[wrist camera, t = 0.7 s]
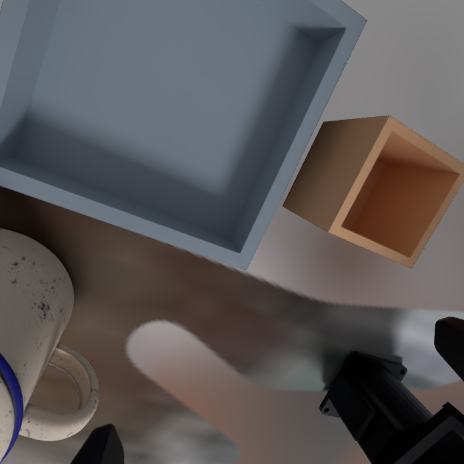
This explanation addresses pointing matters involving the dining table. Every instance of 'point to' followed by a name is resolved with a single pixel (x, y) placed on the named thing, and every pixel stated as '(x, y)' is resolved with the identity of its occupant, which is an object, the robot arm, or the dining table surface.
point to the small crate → (376, 186)
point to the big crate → (167, 109)
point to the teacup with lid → (36, 342)
